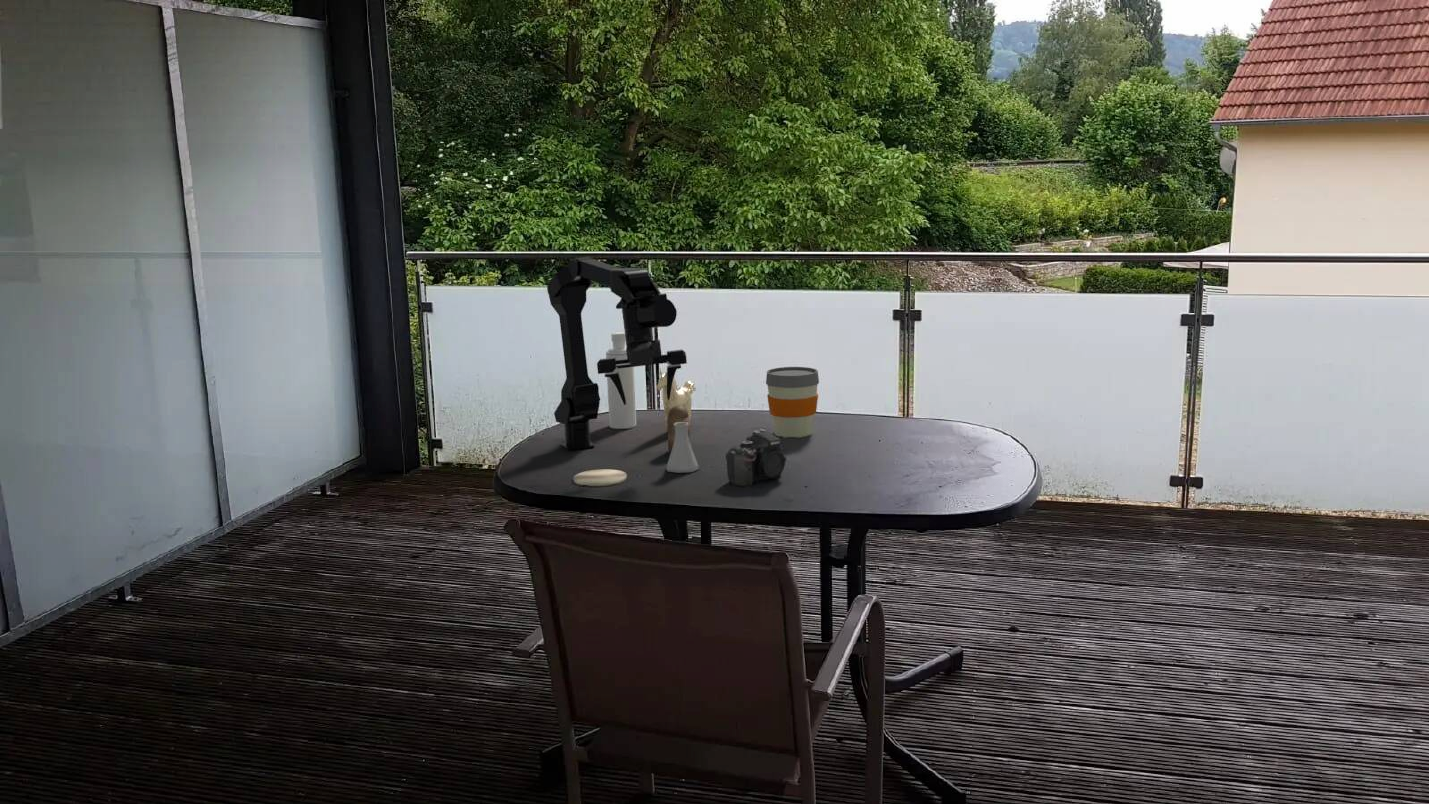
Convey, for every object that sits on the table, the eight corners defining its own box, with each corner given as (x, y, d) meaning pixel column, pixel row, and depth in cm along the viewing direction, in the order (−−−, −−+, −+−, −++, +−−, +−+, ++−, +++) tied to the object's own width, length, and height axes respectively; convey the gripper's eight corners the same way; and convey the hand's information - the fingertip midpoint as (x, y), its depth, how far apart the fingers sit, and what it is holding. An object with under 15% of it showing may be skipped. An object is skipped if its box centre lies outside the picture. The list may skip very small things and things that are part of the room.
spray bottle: (635, 428, 282) (630, 328, 277) (608, 429, 282) (603, 328, 277) (637, 422, 289) (633, 324, 284) (610, 423, 289) (606, 325, 284)
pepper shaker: (665, 450, 260) (663, 405, 258) (686, 447, 262) (685, 403, 259) (672, 455, 255) (670, 409, 253) (693, 452, 257) (691, 407, 255)
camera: (764, 490, 226) (763, 441, 224) (721, 484, 231) (720, 436, 229) (796, 474, 237) (795, 427, 235) (754, 468, 242) (753, 422, 240)
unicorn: (688, 421, 289) (685, 354, 285) (702, 422, 287) (700, 354, 284) (652, 439, 271) (649, 368, 267) (667, 440, 269) (664, 368, 266)
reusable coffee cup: (828, 430, 274) (828, 368, 271) (804, 441, 264) (803, 377, 261) (783, 425, 281) (781, 365, 278) (757, 436, 271) (755, 373, 268)
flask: (695, 474, 239) (694, 427, 237) (662, 473, 241) (660, 427, 238) (703, 465, 246) (701, 420, 244) (670, 464, 247) (668, 419, 245)
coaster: (568, 475, 241) (568, 472, 241) (619, 469, 244) (619, 467, 244) (580, 488, 231) (580, 486, 231) (632, 482, 234) (632, 479, 234)
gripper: (591, 335, 232) (601, 411, 234) (683, 324, 233) (691, 400, 235) (594, 333, 244) (603, 405, 245) (681, 323, 244) (690, 395, 246)
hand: (646, 402), depth 243 cm, fingers open, 9 cm apart
